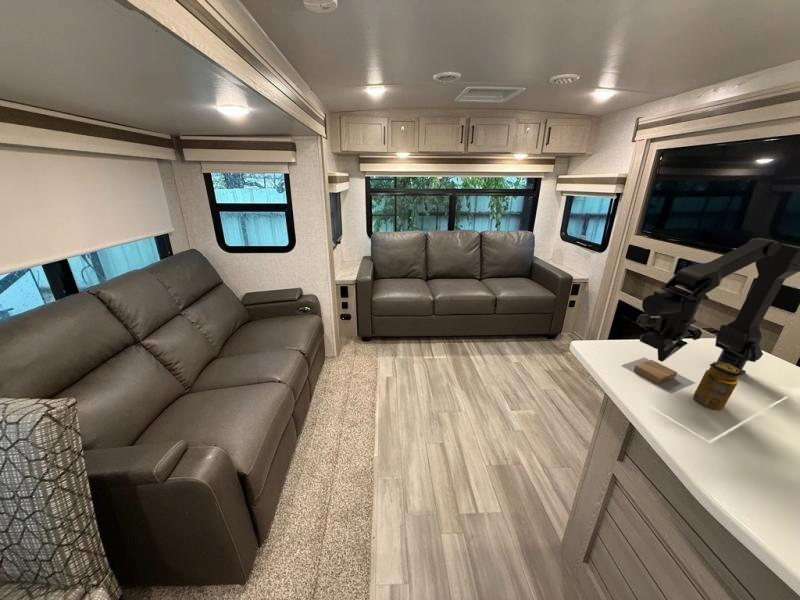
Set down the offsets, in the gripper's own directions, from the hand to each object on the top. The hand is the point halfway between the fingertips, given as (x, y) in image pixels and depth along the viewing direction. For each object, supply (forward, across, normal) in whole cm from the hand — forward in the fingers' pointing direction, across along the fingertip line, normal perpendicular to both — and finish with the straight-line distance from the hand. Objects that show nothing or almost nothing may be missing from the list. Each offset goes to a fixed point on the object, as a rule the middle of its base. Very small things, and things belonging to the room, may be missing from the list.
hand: (660, 360), depth 91 cm
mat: (+5, -1, 0) cm, 5 cm away
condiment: (+6, +1, +13) cm, 14 cm away
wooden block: (+4, -3, 0) cm, 5 cm away
